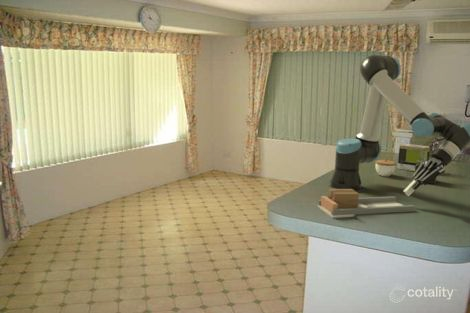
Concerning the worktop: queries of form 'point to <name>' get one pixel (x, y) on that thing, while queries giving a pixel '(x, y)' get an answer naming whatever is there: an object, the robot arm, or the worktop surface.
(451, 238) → the worktop surface
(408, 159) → the tea box
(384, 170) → the lidded jar
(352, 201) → the walnut block
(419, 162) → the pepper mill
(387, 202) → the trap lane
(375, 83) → the robot arm
